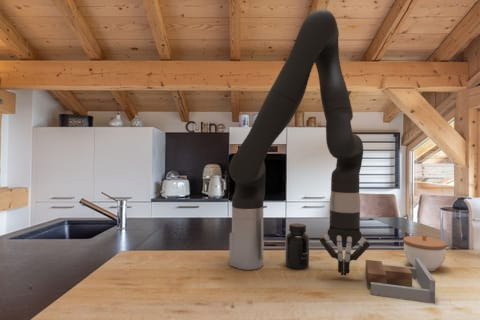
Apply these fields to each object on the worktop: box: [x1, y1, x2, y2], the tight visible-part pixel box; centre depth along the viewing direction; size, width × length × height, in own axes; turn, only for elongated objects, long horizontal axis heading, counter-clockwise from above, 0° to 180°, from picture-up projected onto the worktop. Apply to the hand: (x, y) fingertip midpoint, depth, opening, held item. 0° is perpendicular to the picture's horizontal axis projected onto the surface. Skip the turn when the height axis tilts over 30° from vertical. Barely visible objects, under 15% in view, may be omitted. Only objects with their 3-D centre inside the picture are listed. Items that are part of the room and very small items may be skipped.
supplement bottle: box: [284, 222, 310, 270], centre depth 90 cm, size 7×7×12 cm
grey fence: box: [370, 258, 436, 304], centre depth 77 cm, size 13×15×5 cm
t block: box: [365, 259, 413, 291], centre depth 78 cm, size 10×10×4 cm
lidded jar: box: [402, 234, 448, 272], centre depth 89 cm, size 11×11×9 cm
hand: (343, 274), depth 81 cm, fingers closed
